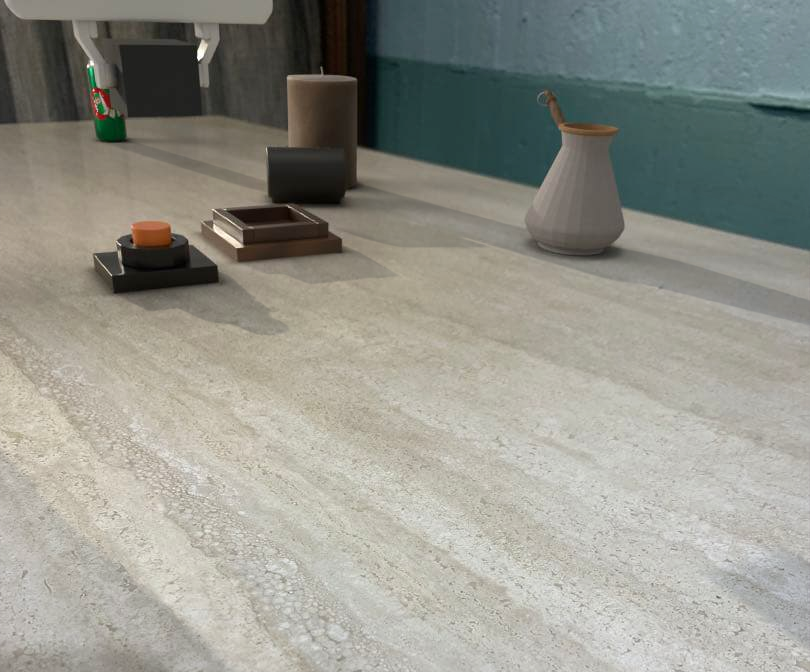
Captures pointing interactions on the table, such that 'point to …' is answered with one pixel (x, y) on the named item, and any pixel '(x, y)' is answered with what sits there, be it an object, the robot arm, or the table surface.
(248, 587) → the table surface
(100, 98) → the soda can
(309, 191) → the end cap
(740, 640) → the table surface
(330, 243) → the tray
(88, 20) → the robot arm
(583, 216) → the coffee pot
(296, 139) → the pillar candle
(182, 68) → the black block
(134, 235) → the button
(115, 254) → the dark piece
